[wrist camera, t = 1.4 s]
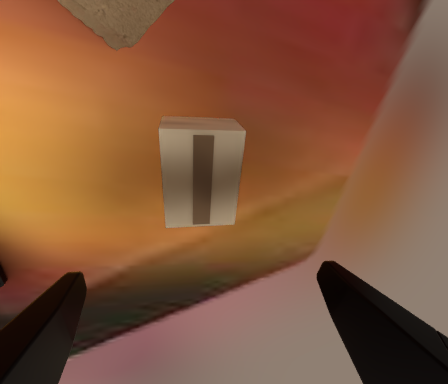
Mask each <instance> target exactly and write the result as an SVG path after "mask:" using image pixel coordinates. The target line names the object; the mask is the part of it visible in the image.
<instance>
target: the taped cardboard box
mask: <svg viewBox="0 0 448 384" xmlns="http://www.w3.org/2000/svg"><path fill="white" fill-rule="evenodd" d="M158 129H159V143H160V156H161V170H162V184H163V197H164V211H165V224H166V228H176V227H196V226H215V225H234V224H235V216H236V208H237V200H238V192H239V184H240V176H241V168H242V160H243V152H244V144H245V136H246V130H245V129H244V128H243V127H242V126H241V125H240V124H239V123H238V122H237V121H236V120H235V119H230V118H205V117H180V116H162V118H161V122H160V125H159V128H158Z"/></svg>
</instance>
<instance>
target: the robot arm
mask: <svg viewBox="0 0 448 384" xmlns="http://www.w3.org/2000/svg"><path fill="white" fill-rule="evenodd" d="M317 281H318V284H319V286H320V289H321V292H322V294H323V297H324V300H325V302H326V305H327V308H328V310H329V313H330V315H331V318H332V320H333V322H334V324H335V326H336V328H337V330H338V333H339V335H340V337H341V339H342V341H343V343H344V345H345V347H346V349H347V351H348V353H349V355H350V357H351V359H352V362H353V364H354V366H355V368H356V370H357V372H358V374H359V376H360V378H361V380H362V382H363V384H448V338H447V337H446V336H445V335H443V334H442V333H440V332H439V331H436V330H435V329H434V328H433V327H431V326H430V325H428V324H426V323H425V322H424V321H422V320H421V319H419V318H418V317H416V316H415V315H413V314H412V313H410V312H409V311H408V310H406V309H405V308H403V307H402V306H400V305H399V304H397V303H396V302H394V301H393V300H391V299H390V298H388V297H387V296H385V295H384V294H382V293H381V292H379V291H378V290H376V289H375V288H373V287H372V286H370V285H369V284H368V283H366V282H364V281H363V280H362V279H360V278H359V277H357V276H356V275H354V274H353V273H351V272H350V271H348V270H347V269H345V268H344V267H342V266H341V265H339V264H338V263H336V262H335V261H324V262H323V263H322V265H321V267H320V269H319V271H318V273H317ZM6 282H7V278H6V276H5V274H4V272H3V271H2V269H1V267H0V287H2V286H4V284H5V283H6ZM86 292H87V288H86V283H85V279H84V276H83V273H82V272H80V271H79V272H68V273H66V274H64V275H63V276H62V277H61V278H60V279H59V280H58V281H56V282H55V283H54V284H53V285H52V286H51V287H49V288H48V289H47V290H46V291H45V292H44V293H43V294H41V295H40V296H39V297H38V298H37V299H36V300H35V301H33V302H32V303H31V304H30V305H29V306H28V307H26V308H25V309H24V310H23V311H22V312H21V313H20V314H18V315H17V316H16V317H15V318H14V319H13V320H11V321H10V322H9V323H8V324H7V325H6V326H5V327H3V328H2V329H1V330H0V384H58V383H59V380H60V378H61V375H62V372H63V369H64V367H65V364H66V362H67V359H68V356H69V354H70V351H71V348H72V345H73V342H74V338H75V335H76V331H77V327H78V323H79V320H80V316H81V312H82V308H83V305H84V301H85V297H86Z"/></svg>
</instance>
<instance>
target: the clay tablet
mask: <svg viewBox="0 0 448 384" xmlns="http://www.w3.org/2000/svg"><path fill="white" fill-rule="evenodd" d="M58 1H59V2H60V4H61V5H62V6H64V7H65V8H67V9H68V10H69V11H70V12H71V13H72V15H73V16H75V17H76V18H78V19H80V20H82V22H83V23H84V24H85V25H86V26H88V27H90V28H92V29H93V31H94V33H96V34H97V35H99V36H102V37H103V39H104V40H105V41H106V43H107V44H108V45H109V46H110V47H112V48H114V49H116V51H117V50H118V49H120V48H123V47H132V46H133V45H135V44H136V43H137V42H138V41H139V40H140V38H141V37H142V36H143V35H144V33H145V32H146V31H147V29H148V28H149V27H150V26H151V25H152V24H153V23H154V22H155V21H156V20H157V19H158V18H159V17H160V15H161V14H162V13H163V11H164V10H165V9H166V8H167V7H168V6H169V5H170V4H171V3H173V1H174V0H58Z"/></svg>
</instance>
